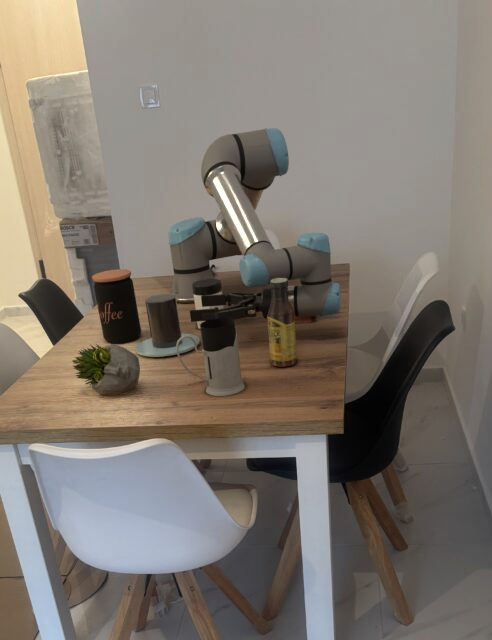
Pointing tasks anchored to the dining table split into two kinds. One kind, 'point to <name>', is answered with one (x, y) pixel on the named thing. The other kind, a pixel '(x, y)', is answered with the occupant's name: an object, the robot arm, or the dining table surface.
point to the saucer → (148, 349)
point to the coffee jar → (117, 306)
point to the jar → (206, 293)
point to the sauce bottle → (281, 325)
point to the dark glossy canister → (163, 320)
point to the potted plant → (108, 369)
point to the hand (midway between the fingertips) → (196, 308)
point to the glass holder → (219, 357)
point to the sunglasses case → (304, 319)
